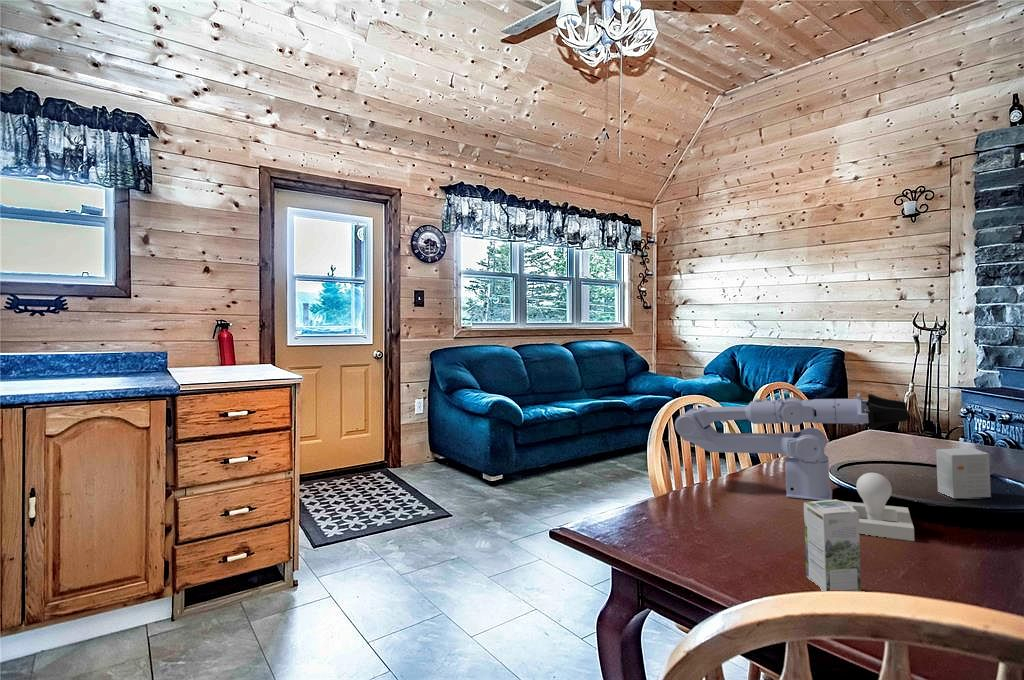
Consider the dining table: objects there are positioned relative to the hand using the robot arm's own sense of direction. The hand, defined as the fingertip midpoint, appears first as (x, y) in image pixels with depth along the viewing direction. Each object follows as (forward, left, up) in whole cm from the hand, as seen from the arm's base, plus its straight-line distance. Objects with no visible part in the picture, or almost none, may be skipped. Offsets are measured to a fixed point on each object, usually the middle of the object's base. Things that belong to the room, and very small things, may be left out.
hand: (907, 410), depth 122 cm
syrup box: (-14, -48, -22) cm, 55 cm away
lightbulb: (-7, -15, -22) cm, 27 cm away
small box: (+11, +11, -22) cm, 26 cm away
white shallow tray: (-7, -15, -21) cm, 27 cm away
